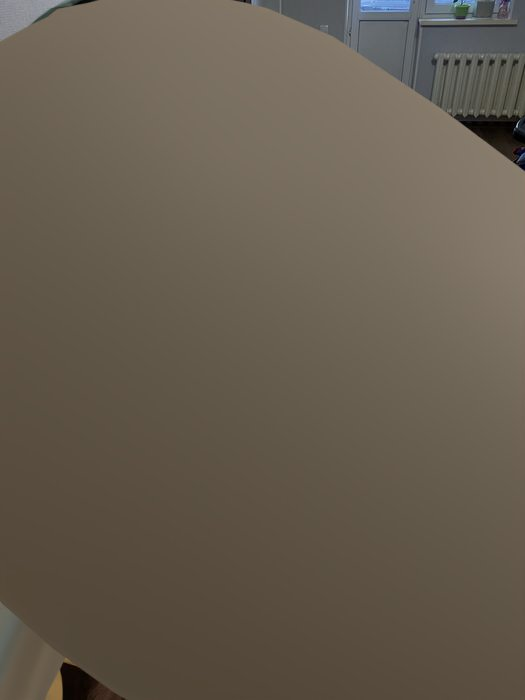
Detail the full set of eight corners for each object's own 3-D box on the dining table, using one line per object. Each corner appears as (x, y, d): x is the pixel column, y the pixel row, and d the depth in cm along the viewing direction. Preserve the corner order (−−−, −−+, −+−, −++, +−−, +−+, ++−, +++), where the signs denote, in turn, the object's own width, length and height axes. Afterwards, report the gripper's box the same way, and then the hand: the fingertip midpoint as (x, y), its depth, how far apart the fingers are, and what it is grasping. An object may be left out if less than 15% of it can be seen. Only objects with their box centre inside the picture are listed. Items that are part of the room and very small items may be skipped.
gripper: (504, 604, 37) (245, 499, 45) (532, 397, 55) (343, 349, 63) (532, 542, 33) (240, 438, 41) (553, 339, 51) (347, 295, 59)
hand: (302, 384), depth 52 cm, fingers open, 13 cm apart
